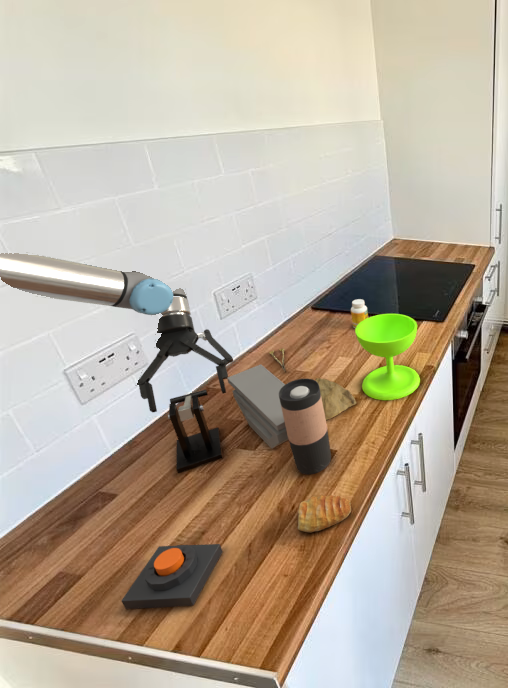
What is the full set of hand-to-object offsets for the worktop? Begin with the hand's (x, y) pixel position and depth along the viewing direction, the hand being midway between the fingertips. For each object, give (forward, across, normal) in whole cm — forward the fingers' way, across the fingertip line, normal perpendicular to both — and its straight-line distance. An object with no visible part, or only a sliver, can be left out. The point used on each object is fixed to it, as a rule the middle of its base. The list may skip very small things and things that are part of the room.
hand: (190, 401), depth 101 cm
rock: (+13, -29, +3) cm, 32 cm away
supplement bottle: (-16, -48, -26) cm, 57 cm away
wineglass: (+10, -46, 0) cm, 47 cm away
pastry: (+34, -19, +24) cm, 46 cm away
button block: (+34, +4, +24) cm, 42 cm away
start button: (+32, +4, +27) cm, 42 cm away
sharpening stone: (+13, -16, +3) cm, 20 cm away
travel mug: (+24, -21, +14) cm, 35 cm away
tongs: (-8, -22, -18) cm, 30 cm away
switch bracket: (+12, 0, +2) cm, 12 cm away
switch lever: (+3, 0, +5) cm, 6 cm away
